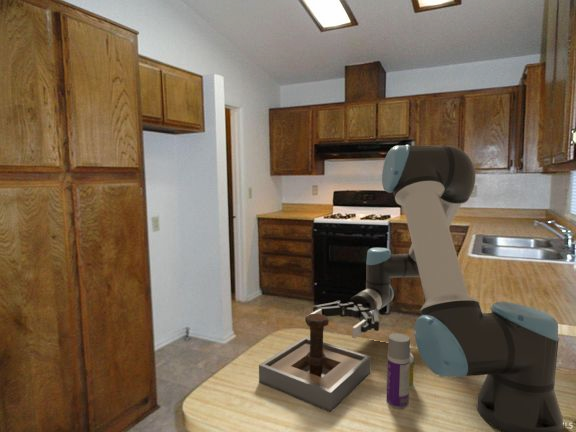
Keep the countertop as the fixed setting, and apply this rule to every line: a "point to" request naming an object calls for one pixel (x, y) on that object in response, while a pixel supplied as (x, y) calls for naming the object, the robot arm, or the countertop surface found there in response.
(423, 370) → the countertop surface
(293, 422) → the countertop surface
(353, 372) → the open box
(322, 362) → the bolt
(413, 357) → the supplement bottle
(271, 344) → the countertop surface
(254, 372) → the countertop surface
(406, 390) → the container
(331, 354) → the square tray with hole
